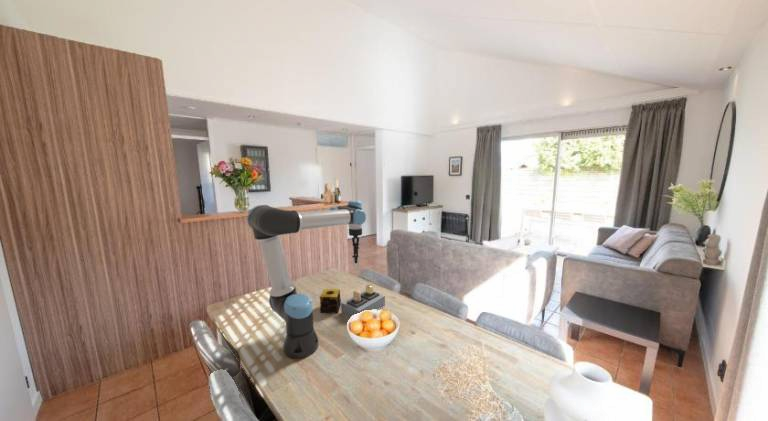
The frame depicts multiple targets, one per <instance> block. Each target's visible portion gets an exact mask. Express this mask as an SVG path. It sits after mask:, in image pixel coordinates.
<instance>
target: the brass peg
mask: <svg viewBox="0 0 768 421" xmlns="http://www.w3.org/2000/svg"><path fill="white" fill-rule="evenodd" d="M365 290H366V296H368V297H371V296H373V291H374V285H373V284H366V285H365Z"/></svg>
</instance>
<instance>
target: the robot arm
mask: <svg viewBox="0 0 768 421" xmlns="http://www.w3.org/2000/svg"><path fill="white" fill-rule="evenodd" d="M246 221H247V224H248V225H249V226H248V227H250V229H252V232H253V236H254V240H256V241H257V242H259V244H260V249H261V252H262V256H263V260H264V263H265V267H266V271H267V275H268V278H269V283H270V287H271V289H269V297H268V303H269V305H270V308H271V310H272V311H273V313H274V312H275V313H276V314H277V315H278V316H279V317H280V318H281V319H282V320H283V321H284V322H285V330H286V335H285V339H284V344H283V353H284V355H285V356H286V357H288V358H289V359H295V360H298V359H303V358H306V357H309V356H310V355H313V353H315V352H316V351H317V349H318V348H319V345H320V344H319V338H318V336H317V333H316V330H315V329H314V311H313V310H314V306H313V300H312V298H311V297H310V296H309V295H308V294H305V293H303V294H302V293H298V292H297V287H296V284H295V283H294V282H291V277H290V273H289V270H288V264H287V260H286V257H285V253H284V249H283V248H284V247H283V244H282V240H281V236H284V235H290V234H298V233H299V232H300V231H304V230H310V229H319V228H330V227H337V226H344V225H348V236H350V237H351V242H352V247H353V255H351V256H352V258H353V260H352V263H353V269H359V249H360V246H359V245H360V236H362V235H363V228H362V227H363V224H365V222H366V221H367V214H366V212H365V211H364V210H363V206H362V201H361V200H357V199H356V200H350V201H348V202H347V204H346V205H338V206H337V205H335V206H331V207H330V208H329V209H328V210H316V211H315V210H313V211H303V212H300V211H297V210H292V209H291V210H287V209H281V208H277V207H272V206H270V205H268V204H260V205H259V204H258V205H256V206H253V207H252V208H251V209H250V210H249V211H248V213H247V216H246Z"/></svg>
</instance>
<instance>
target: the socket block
mask: <svg viewBox="0 0 768 421" xmlns="http://www.w3.org/2000/svg"><path fill="white" fill-rule="evenodd" d="M360 292H361V302H360V303H358V304H356V303H354V301H353V296H352V297H350V298H348V299H346V300H343V301H341V305H340V310H341V313H342V314H343V315H345V316H348V317H349V318H351V316H352V315H354V314H357V313H360V312H362V311H364V310H372V309H379V308H381V307H382V308H383V306H384V307H385V306H386V295H383V294H381V293H378V292H376V291H374V290H373V296H371V297H368V296H366V289H365V290H364V291H360ZM382 308H381V309H382ZM379 310H380V309H379Z"/></svg>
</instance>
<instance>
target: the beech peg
mask: <svg viewBox="0 0 768 421" xmlns="http://www.w3.org/2000/svg"><path fill="white" fill-rule="evenodd" d="M361 292H362V291H360V290H354V291H353V294H352V295H353V296H352V297H353V301H354V303H356V304H358V303H360V302H361Z"/></svg>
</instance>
